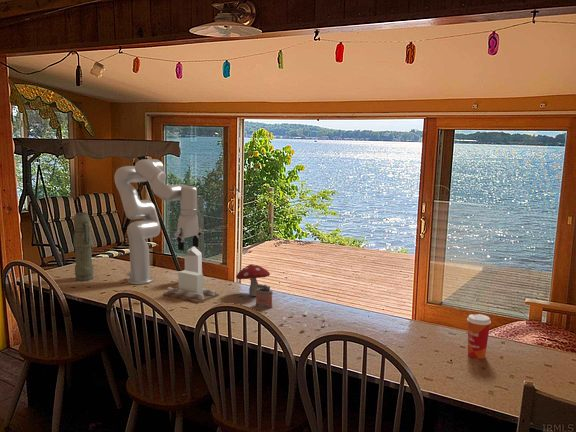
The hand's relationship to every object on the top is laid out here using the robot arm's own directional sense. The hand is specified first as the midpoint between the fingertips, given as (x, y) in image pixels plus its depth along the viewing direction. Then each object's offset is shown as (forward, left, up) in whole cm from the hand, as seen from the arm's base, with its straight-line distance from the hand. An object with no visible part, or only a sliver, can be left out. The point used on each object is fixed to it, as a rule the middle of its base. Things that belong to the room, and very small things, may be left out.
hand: (188, 248), depth 236 cm
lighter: (+40, +5, -23) cm, 46 cm away
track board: (+2, -1, -22) cm, 23 cm away
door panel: (+2, -1, -21) cm, 22 cm away
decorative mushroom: (+26, +16, -23) cm, 38 cm away
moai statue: (-64, -11, -23) cm, 69 cm away
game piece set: (+65, -2, -23) cm, 69 cm away
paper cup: (+131, +3, -23) cm, 133 cm away
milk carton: (-12, +16, -23) cm, 30 cm away
